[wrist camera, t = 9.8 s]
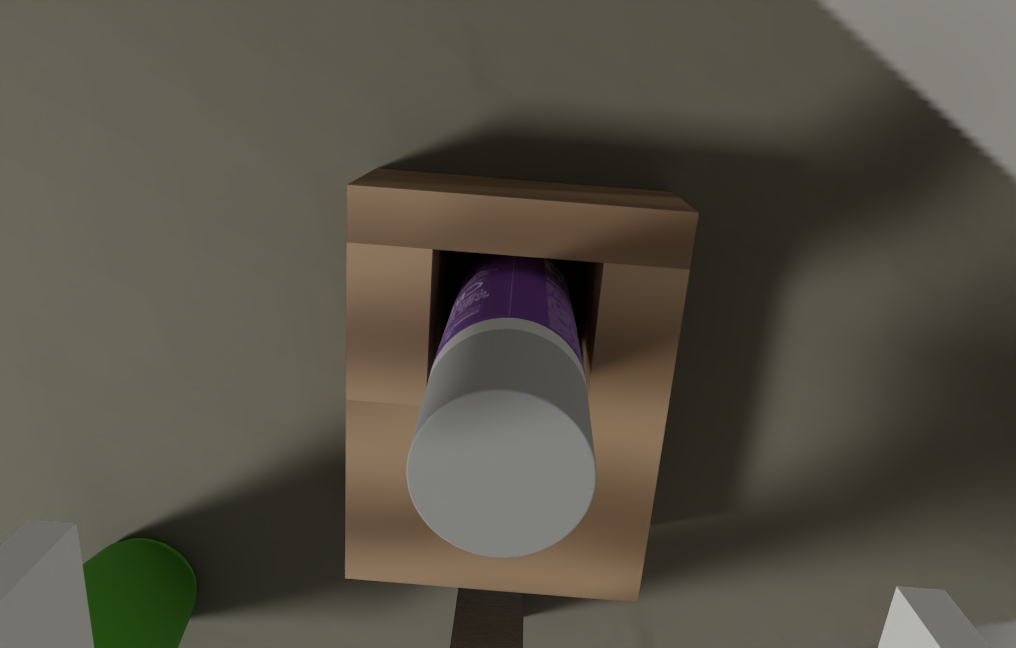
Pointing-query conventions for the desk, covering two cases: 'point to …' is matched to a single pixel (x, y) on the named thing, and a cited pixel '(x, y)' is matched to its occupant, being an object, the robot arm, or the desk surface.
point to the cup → (139, 595)
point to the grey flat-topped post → (488, 619)
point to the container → (505, 415)
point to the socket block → (604, 349)
